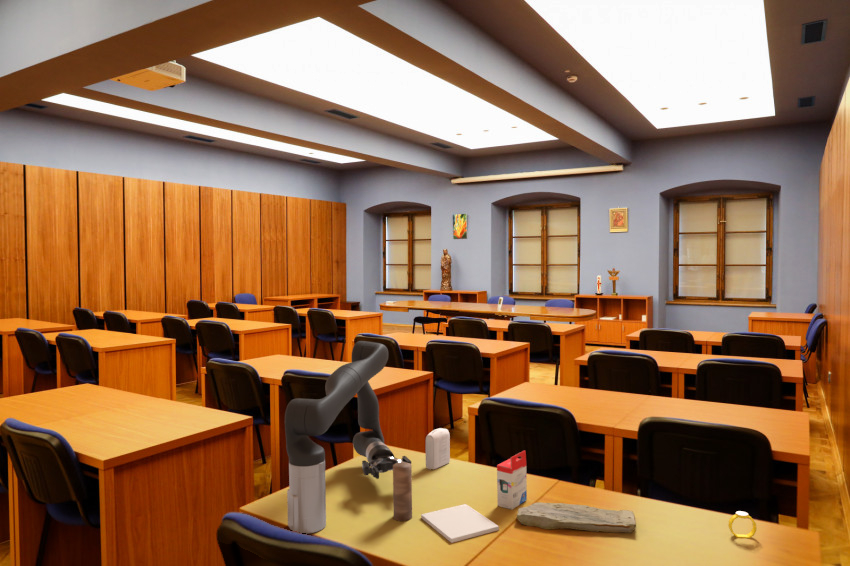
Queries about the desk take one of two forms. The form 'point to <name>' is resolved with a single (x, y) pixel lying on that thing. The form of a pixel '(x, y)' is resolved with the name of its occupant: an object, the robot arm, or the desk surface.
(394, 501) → the slanted wooden cylinder
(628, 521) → the stone slab
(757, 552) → the desk surface
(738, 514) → the gold ring
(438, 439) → the white rounded slab
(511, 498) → the ink box
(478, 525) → the white mat
